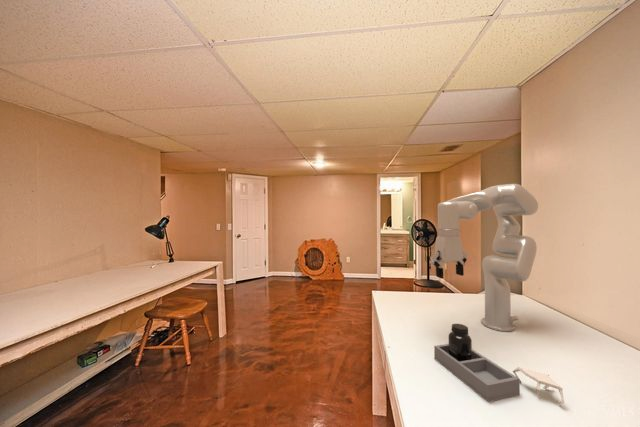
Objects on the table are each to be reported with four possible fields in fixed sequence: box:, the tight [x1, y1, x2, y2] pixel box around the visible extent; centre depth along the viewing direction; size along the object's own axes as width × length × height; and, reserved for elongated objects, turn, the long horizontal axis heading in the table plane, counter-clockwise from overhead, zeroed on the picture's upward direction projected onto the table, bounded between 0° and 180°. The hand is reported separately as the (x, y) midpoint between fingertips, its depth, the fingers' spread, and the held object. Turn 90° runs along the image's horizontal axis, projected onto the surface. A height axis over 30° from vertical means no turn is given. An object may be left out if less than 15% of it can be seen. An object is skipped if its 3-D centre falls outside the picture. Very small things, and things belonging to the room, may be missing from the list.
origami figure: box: [512, 366, 565, 408], centre depth 72 cm, size 12×8×5 cm
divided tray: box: [434, 343, 521, 403], centre depth 79 cm, size 11×21×4 cm, turn 14°
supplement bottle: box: [447, 323, 473, 362], centre depth 84 cm, size 7×7×12 cm
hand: (449, 276), depth 100 cm, fingers open, 9 cm apart
